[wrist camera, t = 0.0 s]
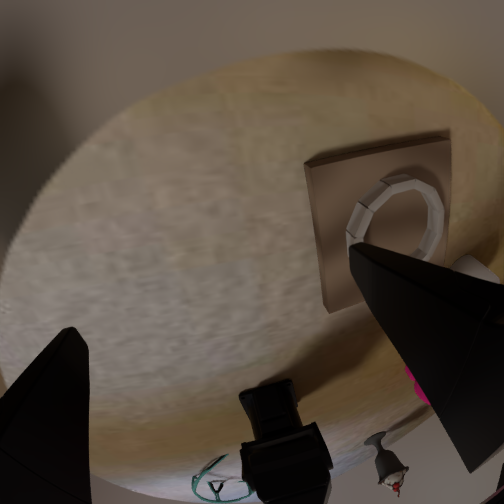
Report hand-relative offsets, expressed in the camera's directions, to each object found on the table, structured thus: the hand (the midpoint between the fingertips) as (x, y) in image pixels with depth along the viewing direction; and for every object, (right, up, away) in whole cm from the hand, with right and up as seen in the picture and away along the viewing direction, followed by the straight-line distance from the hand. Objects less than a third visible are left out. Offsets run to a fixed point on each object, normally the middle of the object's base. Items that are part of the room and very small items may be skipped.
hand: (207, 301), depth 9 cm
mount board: (+13, +4, +18) cm, 23 cm away
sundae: (+26, -36, +43) cm, 62 cm away
